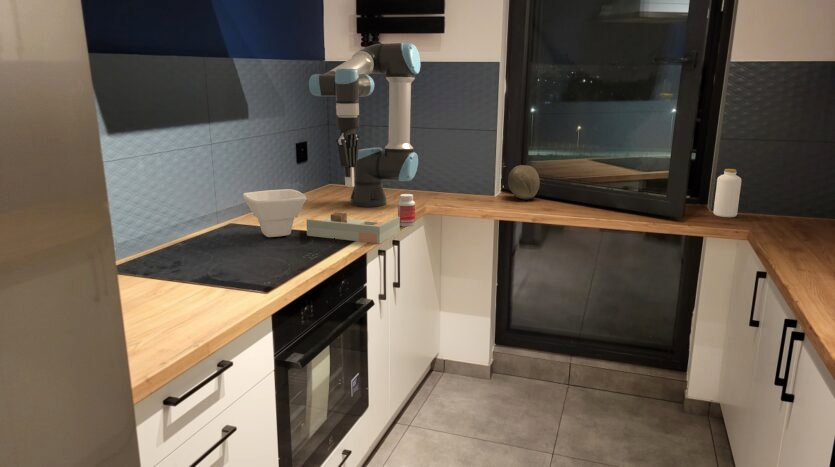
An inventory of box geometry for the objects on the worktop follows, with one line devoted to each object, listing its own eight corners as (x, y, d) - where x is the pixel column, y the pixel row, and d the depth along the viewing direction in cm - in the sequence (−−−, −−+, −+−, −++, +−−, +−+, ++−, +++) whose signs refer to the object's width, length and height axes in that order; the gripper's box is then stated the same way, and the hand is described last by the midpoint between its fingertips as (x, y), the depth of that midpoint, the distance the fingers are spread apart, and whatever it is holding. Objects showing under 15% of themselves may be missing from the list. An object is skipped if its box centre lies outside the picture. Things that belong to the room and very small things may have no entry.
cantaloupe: (544, 198, 277) (545, 164, 273) (531, 203, 265) (533, 168, 262) (514, 195, 284) (515, 162, 281) (501, 200, 273) (502, 165, 269)
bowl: (255, 245, 198) (252, 202, 195) (242, 232, 215) (239, 192, 212) (312, 239, 207) (310, 197, 203) (295, 226, 223) (293, 188, 220)
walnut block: (336, 223, 215) (336, 212, 214) (347, 224, 213) (346, 213, 212) (330, 226, 211) (330, 214, 210) (341, 227, 210) (341, 215, 209)
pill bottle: (418, 225, 225) (418, 195, 223) (404, 227, 222) (403, 197, 219) (409, 222, 230) (409, 192, 228) (394, 224, 227) (394, 194, 224)
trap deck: (330, 225, 225) (330, 210, 224) (399, 232, 216) (399, 216, 214) (307, 235, 211) (306, 219, 210) (379, 243, 201) (379, 226, 200)
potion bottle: (736, 214, 245) (742, 168, 241) (737, 218, 238) (743, 171, 234) (713, 212, 249) (718, 167, 244) (713, 216, 241) (718, 170, 237)
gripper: (347, 114, 216) (349, 182, 222) (328, 117, 204) (330, 188, 210) (366, 115, 213) (368, 183, 219) (348, 118, 202) (350, 190, 208)
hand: (349, 186), depth 215 cm, fingers closed
